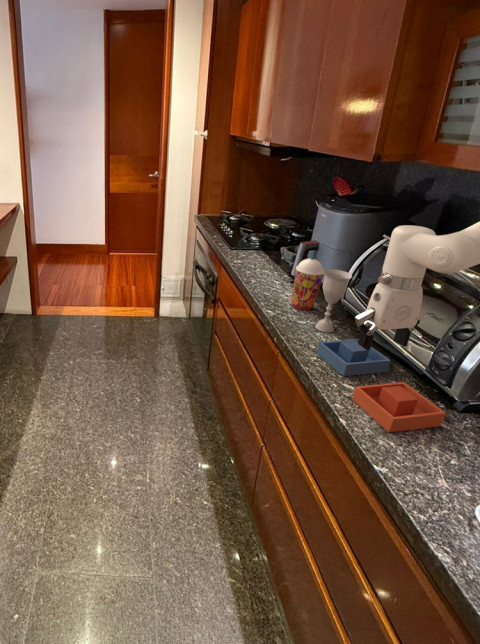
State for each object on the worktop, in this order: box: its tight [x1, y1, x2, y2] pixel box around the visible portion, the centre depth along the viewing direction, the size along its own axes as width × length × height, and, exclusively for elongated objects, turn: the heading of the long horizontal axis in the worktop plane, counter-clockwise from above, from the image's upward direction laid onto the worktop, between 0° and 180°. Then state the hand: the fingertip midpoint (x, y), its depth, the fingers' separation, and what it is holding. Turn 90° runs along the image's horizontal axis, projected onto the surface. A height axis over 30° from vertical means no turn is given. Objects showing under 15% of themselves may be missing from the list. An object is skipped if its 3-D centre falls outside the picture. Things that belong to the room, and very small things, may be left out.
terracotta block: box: [377, 386, 418, 417], centre depth 84 cm, size 4×4×4 cm
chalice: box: [314, 268, 353, 333], centre depth 115 cm, size 7×7×18 cm
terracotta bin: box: [351, 381, 447, 433], centre depth 84 cm, size 12×10×4 cm
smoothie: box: [291, 250, 325, 311], centre depth 127 cm, size 8×8×20 cm
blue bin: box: [316, 338, 391, 377], centre depth 101 cm, size 12×10×4 cm
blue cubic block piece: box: [337, 341, 369, 363], centre depth 101 cm, size 4×4×4 cm
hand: (381, 345), depth 94 cm, fingers open, 9 cm apart
